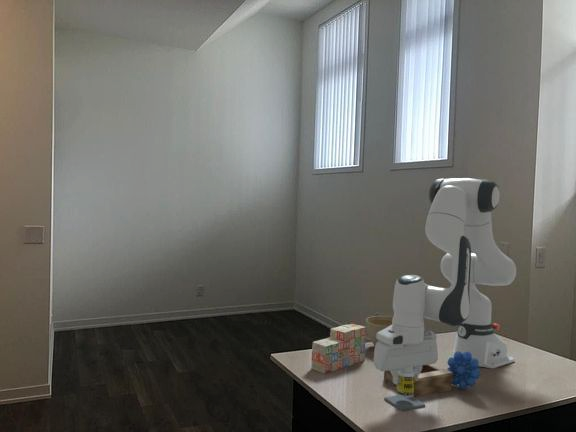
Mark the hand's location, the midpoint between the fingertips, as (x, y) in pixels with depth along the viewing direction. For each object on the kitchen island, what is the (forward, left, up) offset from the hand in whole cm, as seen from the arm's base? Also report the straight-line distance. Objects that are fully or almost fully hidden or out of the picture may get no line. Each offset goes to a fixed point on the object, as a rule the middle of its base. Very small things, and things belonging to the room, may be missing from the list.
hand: (405, 381), depth 139 cm
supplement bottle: (0, 0, -4) cm, 4 cm away
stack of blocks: (+1, -34, -6) cm, 35 cm away
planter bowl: (-26, -43, -6) cm, 50 cm away
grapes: (-25, -2, -6) cm, 25 cm away
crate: (-13, -10, -6) cm, 17 cm away
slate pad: (0, 0, -6) cm, 6 cm away
